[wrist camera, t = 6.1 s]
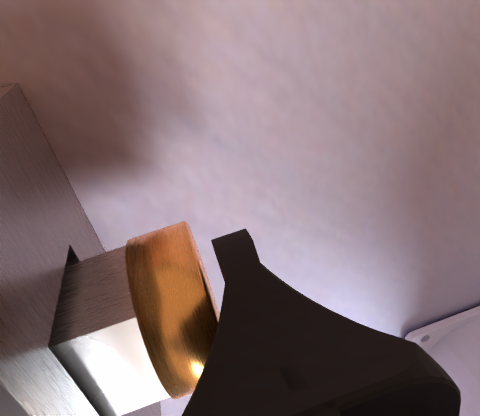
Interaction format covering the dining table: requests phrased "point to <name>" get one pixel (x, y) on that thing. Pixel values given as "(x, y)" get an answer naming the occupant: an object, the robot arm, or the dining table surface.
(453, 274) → the dining table surface
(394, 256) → the dining table surface
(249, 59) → the dining table surface
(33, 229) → the housing
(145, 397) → the shaft
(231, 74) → the dining table surface
